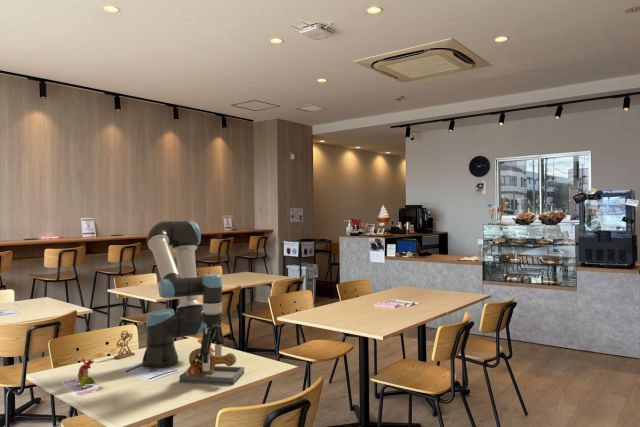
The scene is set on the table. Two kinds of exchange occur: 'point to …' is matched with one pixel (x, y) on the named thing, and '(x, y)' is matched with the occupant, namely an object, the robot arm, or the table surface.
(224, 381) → the gray tray
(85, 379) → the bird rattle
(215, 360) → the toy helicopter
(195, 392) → the table surface
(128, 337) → the wire human figurine
